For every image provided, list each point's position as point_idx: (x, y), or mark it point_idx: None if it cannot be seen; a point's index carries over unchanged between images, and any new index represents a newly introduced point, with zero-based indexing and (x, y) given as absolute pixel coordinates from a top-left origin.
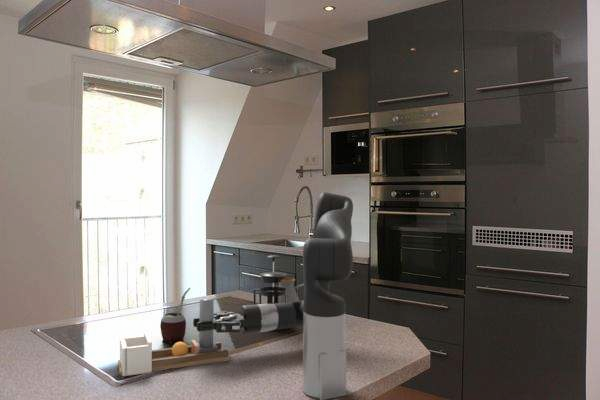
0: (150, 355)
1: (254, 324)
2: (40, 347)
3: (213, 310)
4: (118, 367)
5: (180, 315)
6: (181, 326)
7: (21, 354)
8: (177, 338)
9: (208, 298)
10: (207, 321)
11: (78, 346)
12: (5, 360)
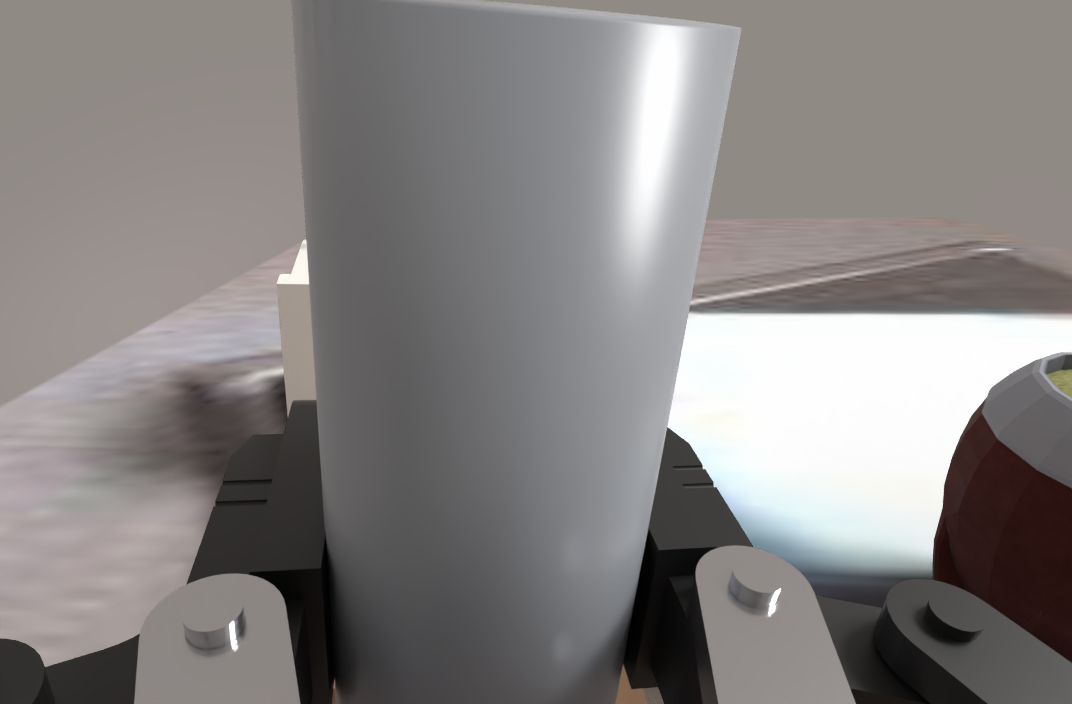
0: (284, 374)
1: None
2: (782, 252)
3: (438, 411)
4: None
5: None
6: (1064, 550)
7: (703, 233)
8: None
9: (660, 21)
10: (304, 505)
11: (808, 303)
12: None
